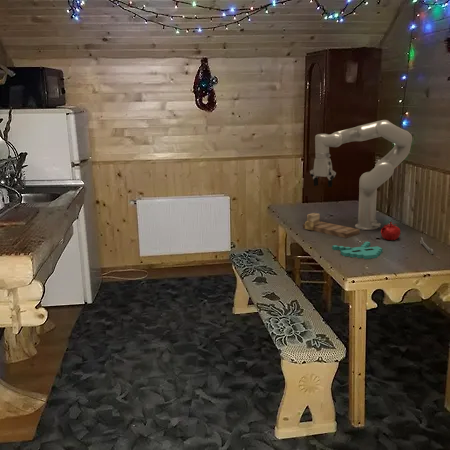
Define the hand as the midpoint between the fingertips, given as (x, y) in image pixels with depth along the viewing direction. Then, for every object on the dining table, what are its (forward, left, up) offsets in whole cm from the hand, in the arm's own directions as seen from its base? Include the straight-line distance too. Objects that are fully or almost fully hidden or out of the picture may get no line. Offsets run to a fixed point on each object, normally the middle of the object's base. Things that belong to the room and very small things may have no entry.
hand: (322, 186), depth 298 cm
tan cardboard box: (-1, +9, -24) cm, 25 cm away
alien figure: (-45, +27, -24) cm, 58 cm away
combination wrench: (-64, 0, -24) cm, 69 cm away
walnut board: (-10, +5, -24) cm, 26 cm away
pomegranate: (-42, -4, -24) cm, 48 cm away
